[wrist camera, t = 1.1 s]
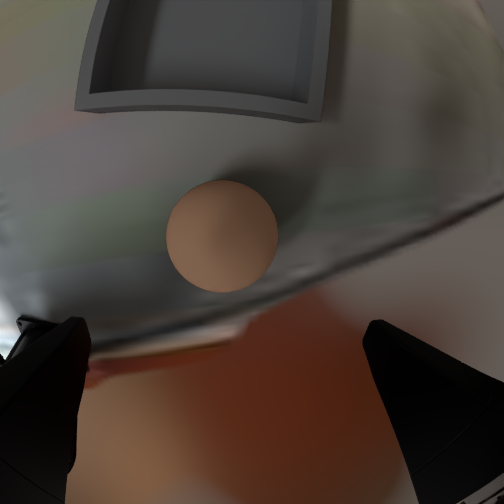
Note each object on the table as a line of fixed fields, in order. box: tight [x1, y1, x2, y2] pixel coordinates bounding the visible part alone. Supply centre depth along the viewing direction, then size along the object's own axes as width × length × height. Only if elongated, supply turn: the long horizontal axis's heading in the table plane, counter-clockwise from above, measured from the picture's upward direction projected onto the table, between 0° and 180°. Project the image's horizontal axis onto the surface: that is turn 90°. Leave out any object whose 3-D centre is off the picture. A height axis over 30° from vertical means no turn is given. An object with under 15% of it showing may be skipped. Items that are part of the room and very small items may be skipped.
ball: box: [166, 180, 278, 292], centre depth 15 cm, size 6×6×6 cm
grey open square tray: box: [74, 0, 332, 123], centre depth 10 cm, size 13×13×4 cm
